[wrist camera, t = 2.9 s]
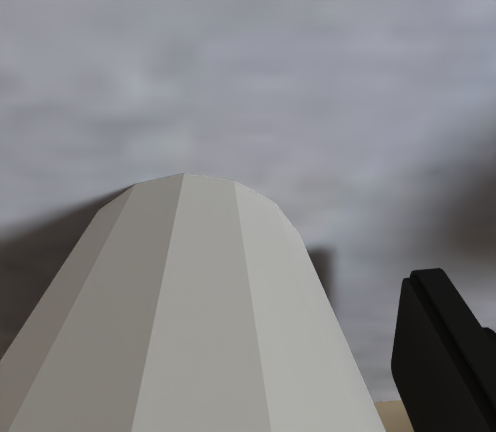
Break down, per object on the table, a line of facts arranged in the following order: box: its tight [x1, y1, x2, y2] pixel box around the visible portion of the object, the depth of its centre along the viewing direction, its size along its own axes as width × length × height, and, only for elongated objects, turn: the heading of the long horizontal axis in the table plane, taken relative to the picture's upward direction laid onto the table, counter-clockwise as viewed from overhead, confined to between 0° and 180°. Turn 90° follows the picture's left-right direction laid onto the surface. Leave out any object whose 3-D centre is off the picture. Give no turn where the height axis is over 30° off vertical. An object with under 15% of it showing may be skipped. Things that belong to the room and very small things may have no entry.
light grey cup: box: [0, 173, 386, 432], centre depth 8 cm, size 7×7×7 cm
